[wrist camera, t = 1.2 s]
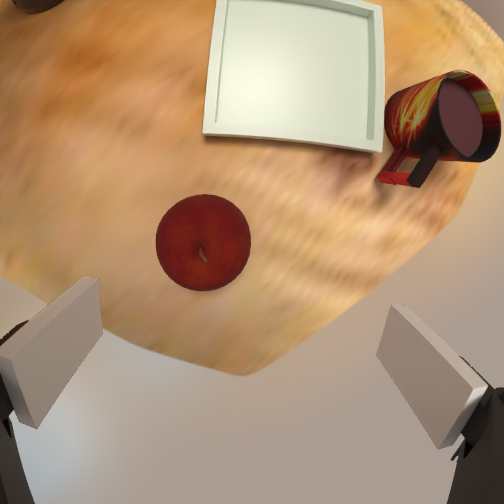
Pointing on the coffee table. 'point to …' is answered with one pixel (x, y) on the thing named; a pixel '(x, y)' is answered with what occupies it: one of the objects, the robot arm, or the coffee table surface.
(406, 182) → the mug
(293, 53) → the tray
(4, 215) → the coffee table surface
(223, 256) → the apple
